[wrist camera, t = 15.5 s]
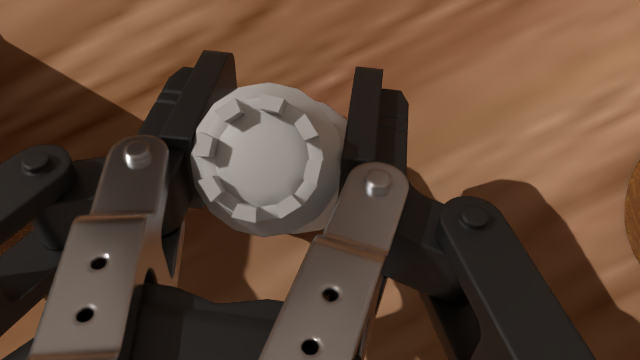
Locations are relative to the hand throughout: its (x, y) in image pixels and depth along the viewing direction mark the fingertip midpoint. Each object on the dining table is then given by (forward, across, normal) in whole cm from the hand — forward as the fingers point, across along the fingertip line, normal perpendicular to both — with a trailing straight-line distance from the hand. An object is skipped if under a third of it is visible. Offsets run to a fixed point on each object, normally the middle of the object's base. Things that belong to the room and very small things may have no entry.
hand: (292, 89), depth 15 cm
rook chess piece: (+2, 0, +4) cm, 5 cm away
